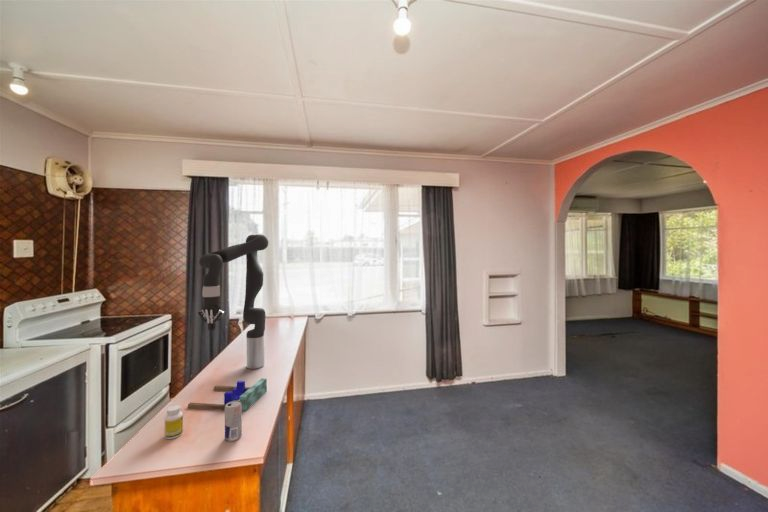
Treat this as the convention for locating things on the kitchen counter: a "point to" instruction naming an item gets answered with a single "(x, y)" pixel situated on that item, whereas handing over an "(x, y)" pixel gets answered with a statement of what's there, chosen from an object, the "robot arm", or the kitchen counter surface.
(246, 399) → the guide channel
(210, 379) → the kitchen counter surface
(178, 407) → the supplement bottle
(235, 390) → the cable clip
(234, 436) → the energy drink
